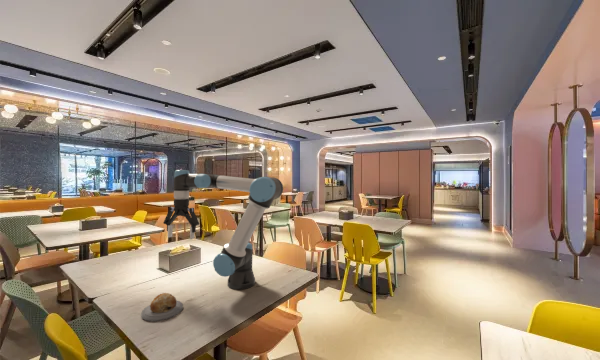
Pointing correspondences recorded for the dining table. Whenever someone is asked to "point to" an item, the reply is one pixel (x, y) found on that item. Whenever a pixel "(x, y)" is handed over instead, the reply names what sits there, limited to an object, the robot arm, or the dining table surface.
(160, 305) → the bread roll
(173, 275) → the dining table surface
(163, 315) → the plate
